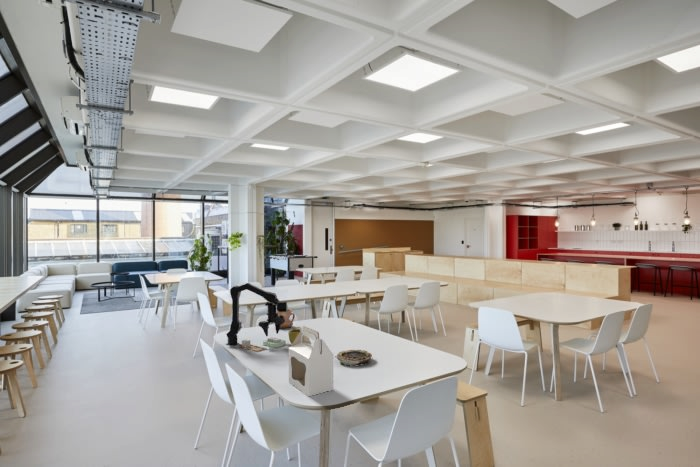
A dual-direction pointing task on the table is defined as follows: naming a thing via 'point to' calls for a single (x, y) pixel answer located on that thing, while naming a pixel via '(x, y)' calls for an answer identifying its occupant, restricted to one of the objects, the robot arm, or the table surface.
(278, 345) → the green bin
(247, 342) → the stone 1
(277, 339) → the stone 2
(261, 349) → the walnut tray
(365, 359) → the pie
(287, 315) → the ceramic jug
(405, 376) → the table surface
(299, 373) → the gable box
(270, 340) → the white small cube
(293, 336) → the flower pot
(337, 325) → the table surface
